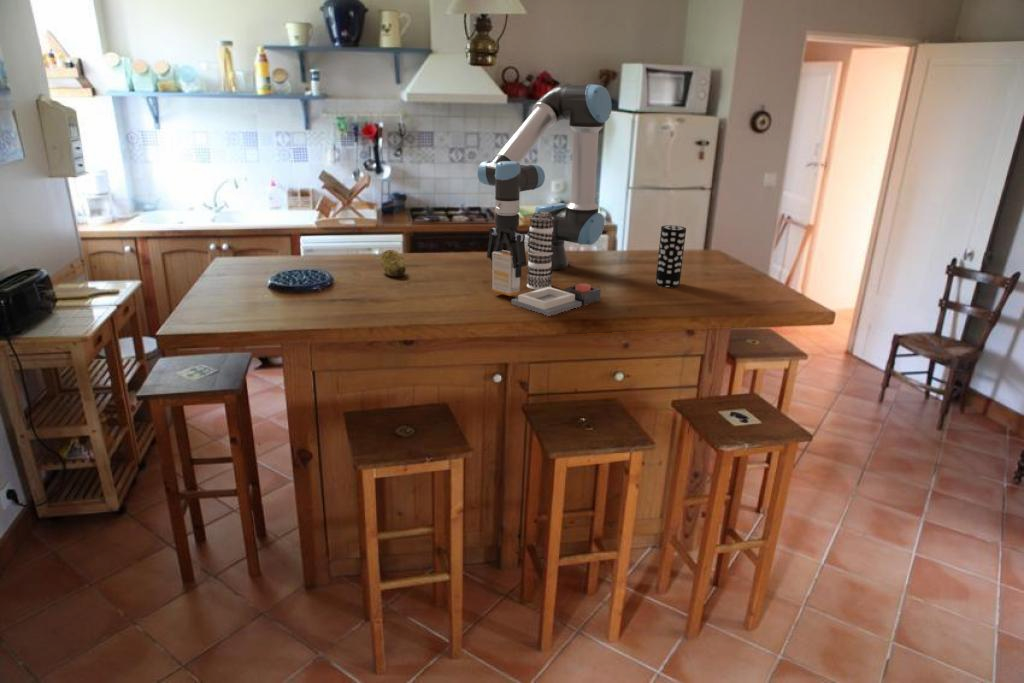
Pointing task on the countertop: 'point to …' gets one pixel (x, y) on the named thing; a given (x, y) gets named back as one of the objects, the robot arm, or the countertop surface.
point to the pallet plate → (547, 301)
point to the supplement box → (503, 273)
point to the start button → (583, 287)
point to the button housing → (585, 295)
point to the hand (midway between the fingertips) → (506, 283)
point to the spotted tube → (670, 256)
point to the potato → (393, 263)
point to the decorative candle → (540, 250)
